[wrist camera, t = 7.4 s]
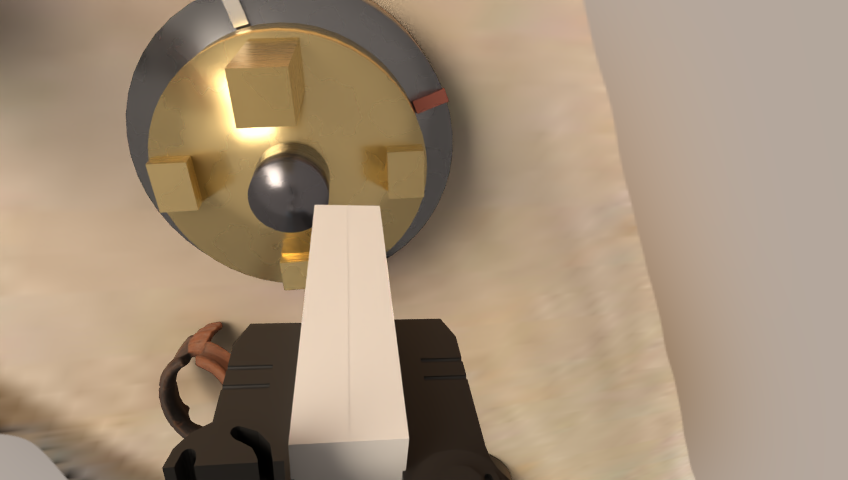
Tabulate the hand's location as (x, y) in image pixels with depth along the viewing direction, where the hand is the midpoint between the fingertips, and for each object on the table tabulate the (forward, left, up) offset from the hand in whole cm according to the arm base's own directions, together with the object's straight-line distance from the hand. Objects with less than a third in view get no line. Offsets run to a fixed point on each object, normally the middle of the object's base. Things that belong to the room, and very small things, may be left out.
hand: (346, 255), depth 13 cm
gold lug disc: (-4, +5, -19) cm, 20 cm away
